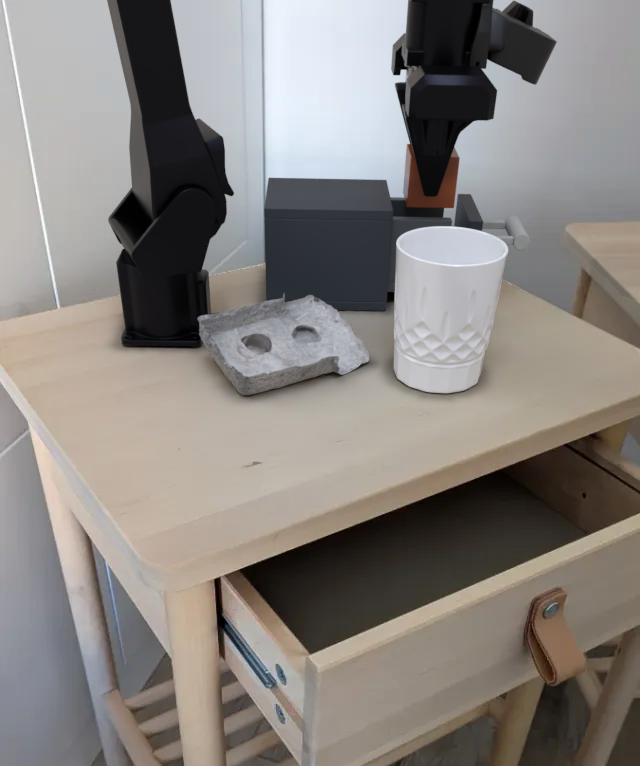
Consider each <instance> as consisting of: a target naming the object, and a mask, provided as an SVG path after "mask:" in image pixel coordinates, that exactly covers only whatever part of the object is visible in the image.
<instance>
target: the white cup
mask: <svg viewBox="0 0 640 766" xmlns="http://www.w3.org/2000/svg"><path fill="white" fill-rule="evenodd" d="M496 236H497V235H493V234H491V233H488V232H485V231H483V230H482V231H479V230H475V229H469V228H463V227H454V226H433V227H424V228H418V229H414V230H411V231H408V232H406V233H404V234H402V235H401V236H400V237H399V238H398V239H397V241H396V266H395V292H393V293H394V297H393V298H394V299H393V301H394V302H393V319H394V320H393V341H394V346H393V347H394V348H393V371H394V373H395V376H396V378H397V380H399V381H400V382H402V383H403V384H405V385H406V386H408V387H409V388H411V389H415V390H418V391H422V392H424V393H425V392H426V393H434V394H452V393H458V392H463V391H466V390H468V389H470V388H471V387H474V386H475V385H477V384H478V381H479V379H480V378H481V374H482V370H483V365H484V360H485V356H486V351H487V349H488V347H489V343H490V338H491V333H492V330H493V326H494V322H495V315H496V312H497V309H498V305H499V304H498V303H499V298H500V294H501V288H502V284H503V279H504V273H505V270H506V264H507V260H508V255H509V247H508V246H509V245H506V243H505V242H504V241H502V240H501V239H499V238H498V237H496Z"/></svg>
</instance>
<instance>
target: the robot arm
mask: <svg viewBox="0 0 640 766" xmlns="http://www.w3.org/2000/svg"><path fill="white" fill-rule="evenodd" d="M106 2H107V6H108V10H109V15H110V16H109V17H110V21H111V24H112V29H113V33H114V37H115V38H114V39H115V42H116V46H117V50H118V51H117V52H118V56H119V59H120V64H121V69H122V72H123V78H124V82H125V87H126V90H127V95H128V99H129V105H130V127H129V143H128V150H129V152H128V153H129V163H130V164H129V166H130V179H131V187H130V189H129V190H128V191H127V193H126V194H125V196H124V197H123V198H122V200H121V201H120V202H119V203H118V204H117V206H116V207H115V208H114V210H113V211H112V212H111V214H110V215H109V216H108V219H107V221H108V224H109V226H110V228H111V230H112V232H113V234H114V236H115V238H116V240H117V242H118V243H119V244H120V245H121V246H122V249H121V252H120V253H119V255H118V258H117V260H116V262H115V264H116V272H117V278H118V286H119V293H120V294H119V295H120V301H121V309H122V316H123V323H124V330H123V331H122V334H121V337H120V342H121V345H123V346H150V347H151V346H152V347H153V346H155V347H161V346H163V347H199V346H201V345H202V344H203V341H202V340H201V337H200V335H199V333H200V332H199V330H200V329H199V328H200V327H199V321H198V319H197V318H198V317H199V316H202V315H212V304H211V303H212V301H211V288H210V272H209V271H208V270H207V269H203V266H204V263H205V259H206V256H207V252H208V248H209V245H210V241H211V239H212V238H213V237H215V236H216V235H217V233H218V232H219V230H220V228H221V227H222V225H224V224H225V222H226V219H227V213H228V207H227V203H228V202H227V198H226V196H229V197H233V196H234V195H235V192H234V189H233V188H232V187H231V185H230V183H229V180H228V176H227V173H226V148H225V141H224V137H223V136H222V135H220V133H218V131H216V130H215V129H213V128H212V127H211V126H210V125H208V124H207V123H206V122H205V121H203V120H202V118H195V115H194V112H193V111H192V107H191V104H190V100H189V94H188V88H187V84H186V77H185V72H184V67H183V61H182V56H181V50H180V45H179V39H178V33H177V29H176V22H175V18H174V12H173V6H172V0H106ZM406 11H407V12H406V25H405V32H404V33H402V35H400V37H399V38H398V39H397V40H396V41H395V42H394V43H393V44H392V50H391V66H390V68H391V69H390V70H391V73H392V76H401V73H402V70H404V71H405V81H400V82H395V83H394V88H395V91H396V95H397V99H398V103H399V107H400V111H401V115H402V119H403V123H404V127H405V130H406V134H407V138H408V142H409V144H412V148H413V152H414V156H415V160H416V164H417V168H418V172H419V176H420V180H421V184H422V188H423V192H424V195H425V196H427V197H436V196H437V195H438V193H439V190H440V187H441V184H442V181H443V178H444V175H445V172H446V169H447V166H448V163H449V161H450V158H451V155H452V152H453V149H454V147H455V146H456V144H457V141H458V138H459V136H460V134H461V133H462V132H463V131H464V130H465V129H466V128H468V127H469V126H470V125H471V124H472V123H474V122H476V121H485V122H487V121H490V120H494V117H495V110H496V104H497V103H496V102H497V97H498V89H497V88H496V86H495V85H494V84H493V82H492V81H491V79H490V78H489V77H488V75H487V74H486V73H485V72H484V70H486V69H487V66H488V65H487V64H488V61H489V62H492V63H494V64H495V65H497V66H500V67H502V68H504V69H506V70H508V71H511V72H512V73H514V74H517V75H519V76H521V79H522V80H523V81H525V82H526V83H529V84H532V85H537V84H538V82H539V81H540V78H541V76H542V74H543V71H544V69H545V67H546V65H547V63H548V61H549V59H550V57H551V56H552V53H553V51H554V49H555V47H556V45H557V43H558V42H557V40H555V38H553V37H552V36H551V35H550V34H549V33H546V32H544V31H542V29H540V28H538V27H535V26H534V11H533V9H532V8H530V7H528V6H527V5H525V4H522V3H520V2H519V1H516V0H512V1H511V2H510V3H509V4H508V5H507V6H506V7H505V8H504V9H503V10H500V9H499V8H495V7H494V0H407V10H406Z"/></svg>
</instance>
